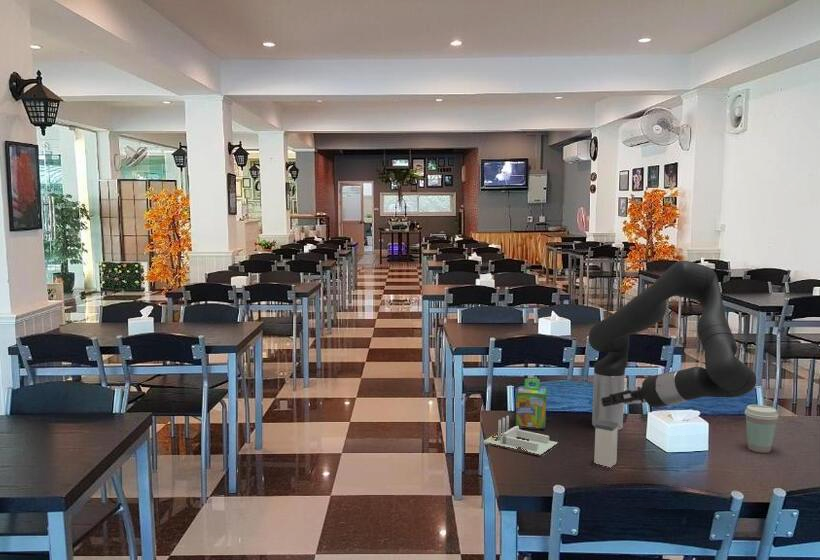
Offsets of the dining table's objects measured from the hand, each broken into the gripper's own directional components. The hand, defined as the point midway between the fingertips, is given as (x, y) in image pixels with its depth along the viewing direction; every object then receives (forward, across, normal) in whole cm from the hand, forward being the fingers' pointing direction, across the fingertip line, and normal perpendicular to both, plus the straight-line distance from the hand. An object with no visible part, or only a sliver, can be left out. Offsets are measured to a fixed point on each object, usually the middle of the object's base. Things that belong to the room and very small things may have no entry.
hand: (613, 401), depth 171 cm
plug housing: (+12, -5, +15) cm, 20 cm away
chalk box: (+43, -12, +1) cm, 45 cm away
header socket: (+34, +3, +6) cm, 34 cm away
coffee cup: (-6, -51, +19) cm, 54 cm away
